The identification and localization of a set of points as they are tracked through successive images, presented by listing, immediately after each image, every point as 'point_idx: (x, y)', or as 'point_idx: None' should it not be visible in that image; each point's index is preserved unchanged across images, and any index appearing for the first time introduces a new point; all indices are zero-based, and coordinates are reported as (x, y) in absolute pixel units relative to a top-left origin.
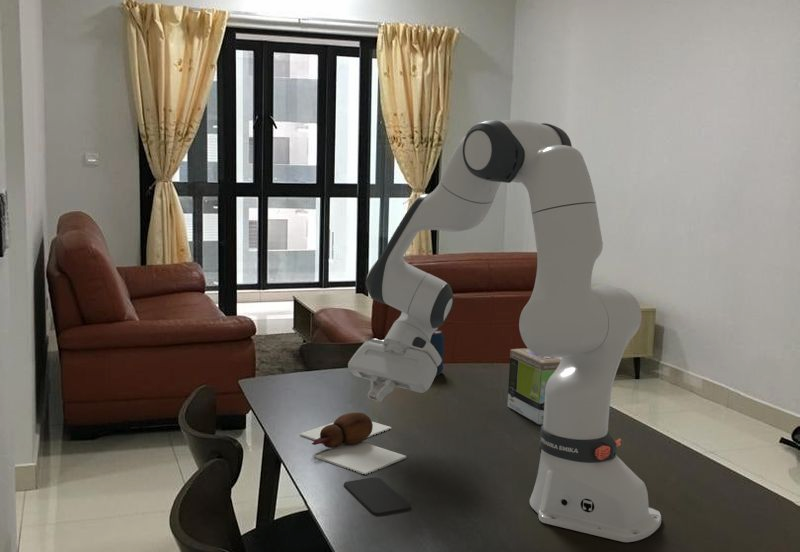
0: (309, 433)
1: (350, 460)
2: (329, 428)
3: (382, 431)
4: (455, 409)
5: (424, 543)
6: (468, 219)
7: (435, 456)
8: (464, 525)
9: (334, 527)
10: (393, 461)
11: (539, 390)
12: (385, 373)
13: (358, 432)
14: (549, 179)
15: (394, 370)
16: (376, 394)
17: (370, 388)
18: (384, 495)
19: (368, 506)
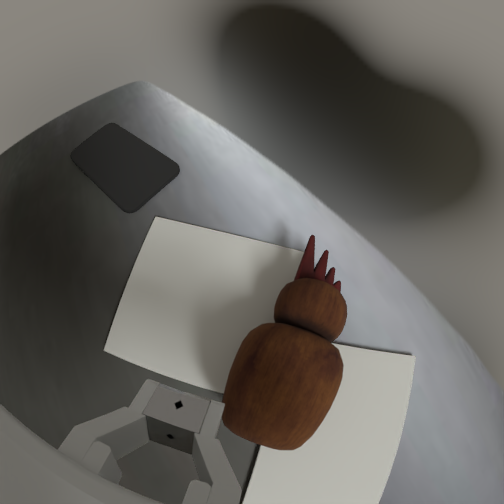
0: (400, 371)
1: (213, 263)
2: (315, 287)
3: (244, 497)
4: None
5: (64, 114)
6: None
7: (59, 383)
8: (25, 159)
9: (151, 92)
10: (119, 303)
11: None
12: (87, 494)
13: (238, 349)
14: None
15: (12, 483)
16: (157, 394)
17: (213, 434)
18: (105, 160)
19: (121, 129)
